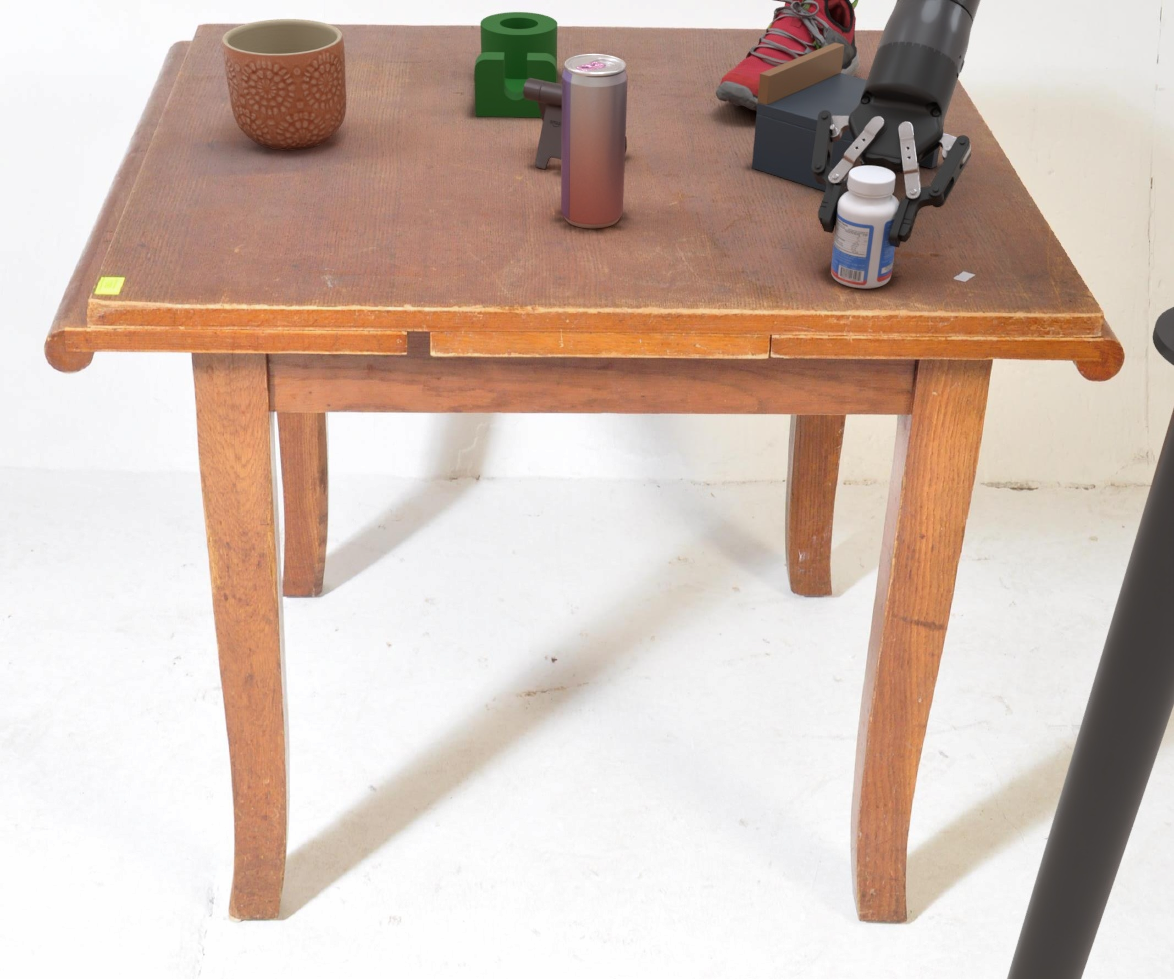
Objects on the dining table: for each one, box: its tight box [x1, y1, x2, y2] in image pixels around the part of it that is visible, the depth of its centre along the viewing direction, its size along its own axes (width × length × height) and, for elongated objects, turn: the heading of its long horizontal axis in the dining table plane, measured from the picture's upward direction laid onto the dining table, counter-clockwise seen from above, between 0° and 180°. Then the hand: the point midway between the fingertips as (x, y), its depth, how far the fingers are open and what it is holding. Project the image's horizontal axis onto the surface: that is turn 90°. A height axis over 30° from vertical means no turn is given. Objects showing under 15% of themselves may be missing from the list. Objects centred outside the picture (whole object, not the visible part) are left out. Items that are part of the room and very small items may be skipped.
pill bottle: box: [830, 166, 900, 289], centre depth 126 cm, size 6×5×10 cm
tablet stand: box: [523, 78, 628, 170], centre depth 148 cm, size 9×8×8 cm
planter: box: [221, 18, 347, 151], centre depth 151 cm, size 12×12×11 cm
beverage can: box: [560, 53, 629, 230], centre depth 134 cm, size 6×6×15 cm
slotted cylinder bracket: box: [474, 11, 558, 118], centre depth 166 cm, size 18×9×6 cm, turn 1°
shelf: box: [751, 43, 945, 193], centre depth 147 cm, size 14×14×10 cm
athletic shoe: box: [715, 0, 860, 112], centre depth 164 cm, size 12×25×12 cm, turn 128°
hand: (860, 235), depth 125 cm, fingers closed on pill bottle, 5 cm apart
